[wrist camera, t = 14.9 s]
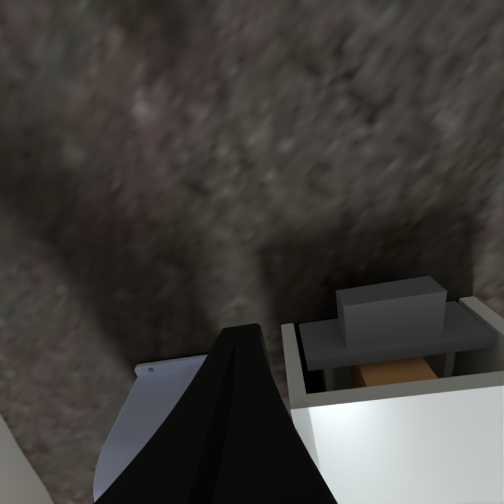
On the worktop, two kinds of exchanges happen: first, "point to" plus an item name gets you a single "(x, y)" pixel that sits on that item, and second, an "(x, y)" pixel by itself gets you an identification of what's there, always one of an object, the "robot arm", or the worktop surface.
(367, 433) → the white drawer box
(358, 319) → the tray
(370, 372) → the tan rectangular block
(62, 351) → the worktop surface
